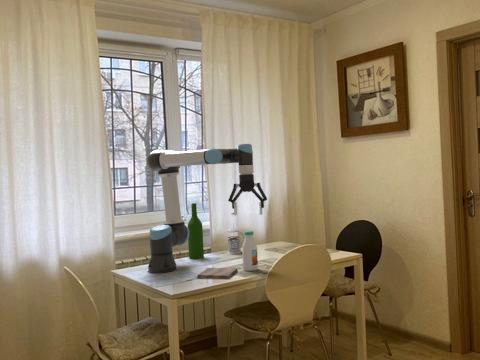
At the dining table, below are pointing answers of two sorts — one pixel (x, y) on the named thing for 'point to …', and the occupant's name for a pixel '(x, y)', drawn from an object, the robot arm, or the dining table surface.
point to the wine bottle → (195, 235)
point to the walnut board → (217, 273)
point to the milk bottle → (249, 252)
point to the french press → (230, 247)
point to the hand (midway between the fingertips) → (248, 214)
